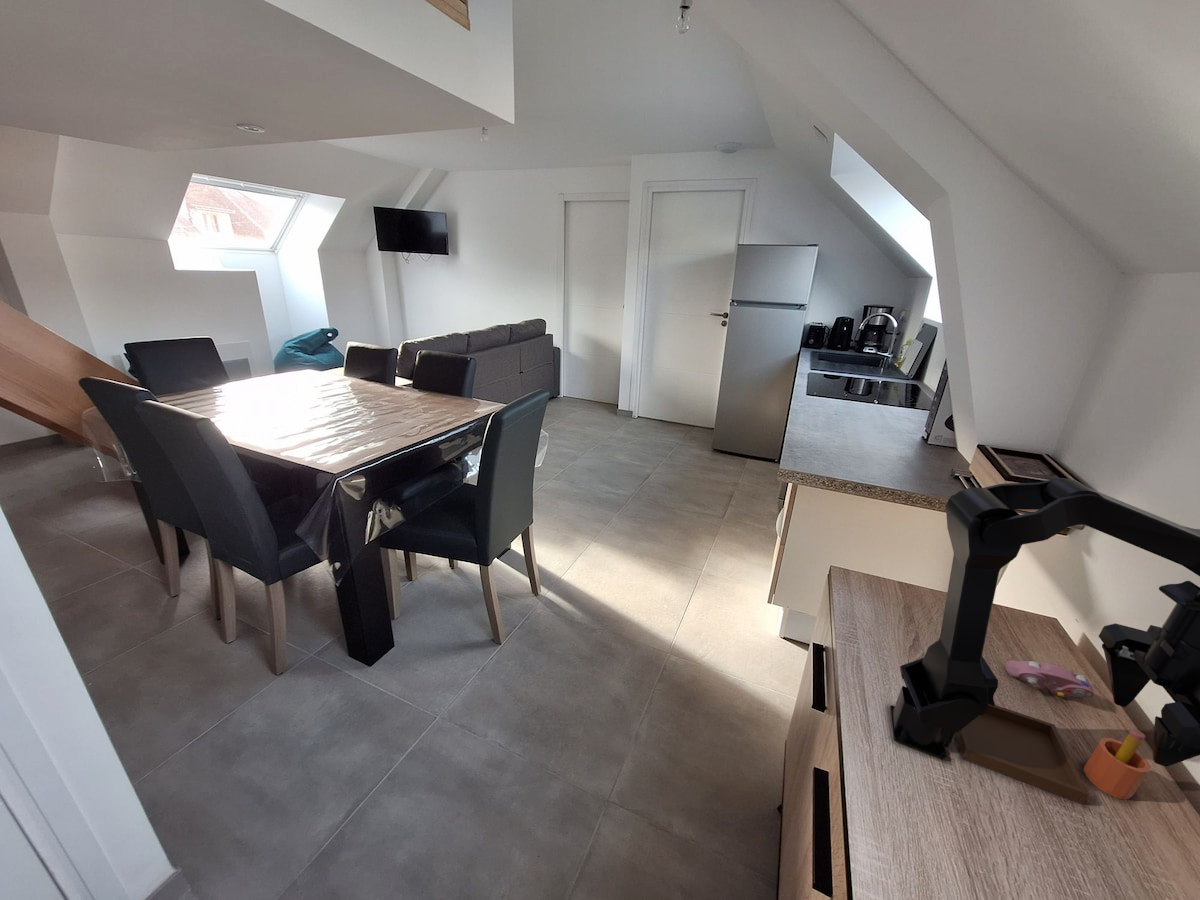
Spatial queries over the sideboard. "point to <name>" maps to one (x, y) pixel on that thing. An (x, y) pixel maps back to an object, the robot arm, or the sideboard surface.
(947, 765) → the sideboard surface
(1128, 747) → the pencil
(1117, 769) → the pen pot
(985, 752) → the tray
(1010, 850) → the sideboard surface
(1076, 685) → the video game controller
